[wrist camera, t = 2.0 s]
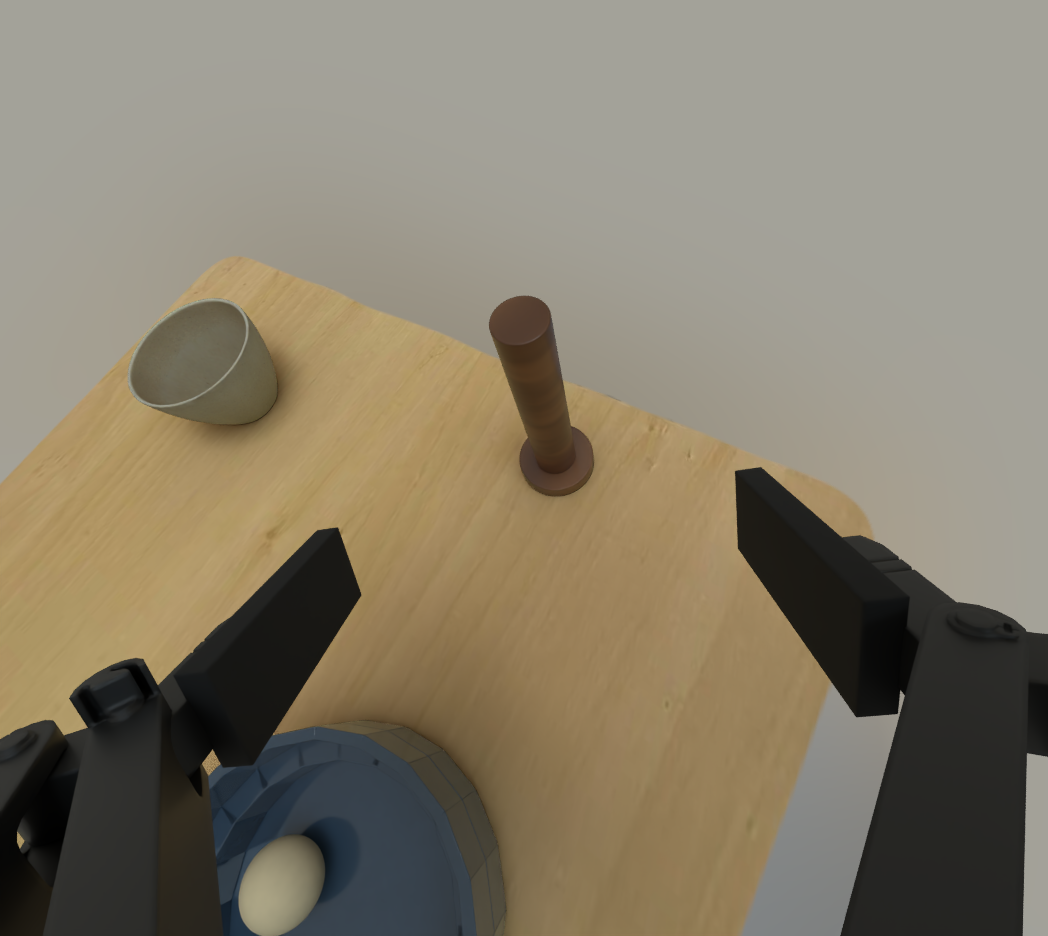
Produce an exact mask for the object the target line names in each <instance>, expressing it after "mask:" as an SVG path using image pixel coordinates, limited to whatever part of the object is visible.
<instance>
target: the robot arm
mask: <svg viewBox="0 0 1048 936" xmlns="http://www.w3.org/2000/svg"><path fill="white" fill-rule="evenodd" d="M735 481H736V508H737V535H738V549H739V551H740V552H741V554H742V555H743V556H744V558H745V559H746V561H747V562H748V564H749V565H750V566H751V568H752V569H753V571H754V572H755V574H756V575H757V576H758V578H759V579H760V581H761V582H762V584H763V585H764V586H765V588H766V589H767V591H768V592H769V594H770V595H771V596H772V598H773V599H774V601H775V602H776V603H777V605H778V606H779V608H780V609H781V611H782V612H783V613H784V615H785V616H786V618H787V619H788V621H789V622H790V623H791V625H792V626H793V628H794V629H795V631H796V632H797V633H798V635H799V636H800V638H801V639H802V641H803V642H804V643H805V645H806V646H807V648H808V649H809V651H810V652H811V653H812V655H813V656H814V658H815V659H816V661H817V662H818V663H819V665H820V666H821V668H822V669H823V671H824V672H825V673H826V675H827V676H828V678H829V679H830V681H831V682H832V683H833V685H834V686H835V688H836V689H837V690H838V692H839V693H840V695H841V696H842V698H843V699H844V701H845V702H846V703H847V704H848V706H849V708H850V709H851V710H852V712H853V713H854V715H855V716H856V717H866V716H879V715H891V714H898V707H899V697H900V690H901V691H902V692H903V694H904V695H905V697H904V701H903V705H902V709H901V712H900V716H899V720H898V724H897V727H896V731H895V735H894V738H893V742H892V746H891V749H890V753H889V757H888V761H887V764H886V768H885V772H884V776H883V779H882V783H881V787H880V790H879V794H878V798H877V801H876V805H875V809H874V813H873V816H872V820H871V824H870V828H869V831H868V835H867V839H866V843H865V846H864V850H863V854H862V858H861V861H860V865H859V868H858V872H857V876H856V880H855V883H854V887H853V891H852V894H851V898H850V902H849V906H848V909H847V913H846V917H845V921H844V924H843V928H842V932H841V935H840V936H1023V896H1024V894H1023V893H1024V852H1025V809H1026V807H1025V806H1026V804H1025V803H1026V766H1027V753H1029V754H1035V755H1041V756H1047V757H1048V634H1040V633H1032V632H1026V629H1025V628H1023V627H1022V626H1021V625H1020V624H1018V622H1016V621H1015V620H1014V619H1012V618H1010V617H1008V616H1006V615H1004V614H1002V613H1000V612H998V611H996V610H993V609H989V608H986V607H983V606H980V605H974V604H967V603H960V602H958V603H957V602H955V601H954V600H953V599H952V598H950V597H949V596H948V595H946V594H945V593H944V592H943V591H941V590H940V589H939V588H937V587H936V586H935V585H934V584H932V583H931V582H930V581H928V580H927V579H926V578H925V577H923V576H922V575H921V574H920V573H918V572H917V571H916V570H912V568H911V566H909V565H908V564H907V563H905V562H904V561H903V560H899V558H898V556H897V555H895V554H894V553H893V552H891V551H890V550H889V549H888V548H886V547H885V546H884V545H882V544H880V543H877V542H875V541H873V540H870V539H868V538H866V537H863V536H861V535H859V536H850V537H841V536H839V535H838V534H837V533H836V532H835V531H834V530H833V529H831V528H830V527H829V526H828V525H827V524H826V523H824V522H823V521H822V520H821V519H820V518H819V517H818V516H816V515H815V514H814V513H813V512H812V511H811V510H810V509H808V508H807V507H806V506H805V505H804V504H803V503H801V502H800V501H799V500H798V499H797V498H796V497H795V496H793V495H792V494H791V493H790V492H789V491H788V490H787V489H785V488H784V487H783V486H782V485H781V484H780V483H778V482H777V481H776V480H775V479H774V478H773V477H772V476H770V475H769V474H768V473H767V472H766V471H765V470H764V469H762V468H761V467H759V468H752V469H745V470H738V471H735ZM360 597H361V592H360V589H359V586H358V583H357V580H356V578H355V575H354V572H353V569H352V566H351V563H350V560H349V558H348V555H347V552H346V549H345V546H344V543H343V540H342V538H341V535H340V532H339V529H338V527H337V528H330V529H323V530H317V531H316V532H315V533H314V534H313V535H312V536H311V537H310V538H309V539H308V540H307V541H306V542H305V543H304V544H303V545H302V546H301V547H300V548H299V549H298V550H297V551H296V552H295V553H294V554H293V555H292V556H291V557H290V558H289V559H288V560H287V561H286V562H285V563H284V564H283V565H282V566H281V567H280V568H279V569H278V570H277V571H276V572H275V573H274V574H273V575H272V576H271V577H270V578H269V579H268V580H267V581H266V582H265V583H264V584H263V585H262V586H261V587H260V588H259V589H258V590H257V591H256V592H255V593H254V594H253V595H252V596H251V597H250V599H249V600H248V601H247V602H246V603H245V604H244V605H243V606H242V607H241V608H240V609H239V610H238V611H237V612H236V613H235V614H234V615H233V616H231V617H230V618H229V619H227V620H226V621H224V622H223V623H221V624H220V625H218V626H217V627H216V628H215V629H214V630H213V631H212V632H211V633H210V634H209V635H208V636H207V637H206V638H205V641H204V642H201V643H200V644H199V645H198V646H197V647H196V648H195V649H194V650H193V651H194V652H193V653H190V654H189V655H188V656H187V657H186V658H185V659H184V660H183V661H182V662H181V663H180V664H179V665H178V666H177V667H176V668H175V669H174V670H173V671H172V672H171V673H170V674H169V675H168V676H167V677H166V678H165V679H164V680H163V681H162V682H161V683H160V684H159V685H157V683H156V681H155V680H154V678H153V676H152V674H151V672H150V671H149V669H148V667H147V665H146V663H145V662H144V660H143V659H138V658H134V659H128V660H124V661H121V662H119V663H116V664H113V665H111V666H109V667H107V668H105V669H103V670H101V671H99V672H97V673H96V674H94V675H93V676H91V677H90V678H88V679H87V680H85V681H84V682H83V683H82V684H81V685H80V686H79V687H77V688H76V689H75V690H74V692H73V693H72V695H71V696H70V698H69V699H70V701H71V702H72V704H73V705H74V707H75V708H76V710H77V711H78V713H79V714H80V716H81V718H82V719H83V721H84V722H85V724H86V725H87V727H88V728H86V729H83V730H79V731H76V732H73V733H70V734H67V735H63V734H62V732H61V731H60V729H59V728H58V726H57V725H56V723H55V722H54V721H53V720H44V721H40V722H37V723H33V724H31V725H28V726H26V727H24V728H20V729H17V730H15V731H14V732H12V733H10V735H6V736H5V737H3V738H2V739H0V936H223V925H222V915H221V905H220V894H219V884H218V874H217V863H216V853H215V842H214V832H213V822H212V811H211V801H210V791H209V780H208V774H207V773H206V771H205V769H204V767H203V765H202V763H203V761H204V760H205V759H206V757H207V756H208V755H209V753H210V752H211V751H212V749H213V750H214V752H215V754H216V756H217V758H218V760H219V761H220V763H221V765H222V767H223V768H227V767H240V766H252V765H254V763H255V761H256V760H257V758H258V757H259V755H260V754H261V752H262V750H263V749H264V747H265V746H266V744H267V743H268V741H269V739H270V738H271V736H272V735H273V733H274V732H275V730H276V728H277V727H278V725H279V724H280V722H281V721H282V719H283V717H284V716H285V714H286V713H287V711H288V710H289V708H290V706H291V705H292V703H293V702H294V700H295V699H296V697H297V695H298V694H299V692H300V691H301V689H302V688H303V686H304V684H305V683H306V681H307V680H308V678H309V677H310V675H311V673H312V672H313V670H314V669H315V667H316V666H317V664H318V663H319V661H320V659H321V658H322V656H323V655H324V653H325V652H326V650H327V648H328V647H329V645H330V644H331V642H332V641H333V639H334V637H335V636H336V634H337V633H338V631H339V630H340V628H341V626H342V625H343V623H344V622H345V620H346V619H347V617H348V615H349V614H350V612H351V611H352V609H353V608H354V606H355V604H356V603H357V601H358V600H359V598H360ZM17 832H18V833H19V834H20V835H21V837H22V838H23V839H24V840H25V841H24V843H23V845H22V847H21V848H19V846H18V844H17Z"/></svg>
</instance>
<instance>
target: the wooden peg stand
mask: <svg viewBox="0 0 1048 936" xmlns="http://www.w3.org/2000/svg"><path fill="white" fill-rule="evenodd" d="M489 329H490V333H491V335H492V338H493V341H494V344H495V346H496V349H497V352H498V355H499V358H500V360H501V363H502V366H503V369H504V372H505V374H506V377H507V380H508V383H509V386H510V388H511V391H512V394H513V397H514V400H515V402H516V405H517V408H518V411H519V414H520V416H521V419H522V422H523V425H524V428H525V430H526V433H527V436H528V438H527V439H526V441H525V442H524V444H523V446H522V449H521V452H520V466H521V470H522V472H523V474H524V476H525V479H526V480H527V482H528V483H529V484H530V486H531V487H533V488H534V489H535V490H537V491H538V492H540V493H542V494H545V495H550V496H563V495H567V494H570V493H573V492H575V491H576V490H578V489H580V488H581V487H582V486H583V485H584V484H585V483H586V482H587V480H588V479H589V477H590V475H591V473H592V470H593V466H594V458H593V450H592V446H591V443H590V441H589V440H588V438H587V437H586V436H585V435H584V434H583V433H582V432H581V431H580V430H578V429H576V428H575V427H572V426H571V424H570V419H569V413H568V408H567V402H566V396H565V391H564V385H563V380H562V374H561V368H560V363H559V358H558V352H557V346H556V340H555V335H554V329H553V323H552V318H551V313H550V310H549V308H548V306H547V305H546V304H545V303H544V302H542V301H541V300H540V299H538V298H535V297H532V296H517V297H514V298H510V299H508V300H506V301H504V302H503V303H501V304H500V305H499V306H498V307H497V308H496V309H495V310H494V311H493V313H492V315H491V317H490V322H489Z"/></svg>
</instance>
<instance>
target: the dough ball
mask: <svg viewBox="0 0 1048 936" xmlns="http://www.w3.org/2000/svg"><path fill="white" fill-rule="evenodd" d="M324 879H325V863H324V858H323V855H322V852H321V850H320V848H319V847H318V845H317V844H316V843H315V842H314V841H313V840H311V839H310V838H308V837H306V836H303V835H297V834H292V835H286V836H283V837H280V838H277V839H275V840H274V841H272V842H270V843H269V844H267V845H266V846H265V847H264V848H263V849H262V850H260V851H259V853H258V854H257V855H256V856H255V857H254V859H253V860H252V861H251V863H250V864H249V866H248V868H247V870H246V872H245V874H244V876H243V879H242V882H241V886H240V890H239V910H240V914H241V917H242V920H243V922H244V923H245V925H246V926H247V927H248V928H249V929H250V930H251V931H252V932H254V933H256V934H258V935H261V936H278V935H281V934H284V933H287V932H289V931H290V930H292V929H294V928H295V927H296V926H298V925H299V924H300V923H301V922H302V921H303V920H304V919H305V918H306V917H307V916H308V915H309V913H310V912H311V911H312V909H313V908H314V906H315V904H316V903H317V901H318V899H319V896H320V894H321V891H322V888H323V884H324Z"/></svg>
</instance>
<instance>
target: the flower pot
mask: <svg viewBox="0 0 1048 936" xmlns="http://www.w3.org/2000/svg"><path fill="white" fill-rule="evenodd" d="M128 385H129V389H130V391H131V393H132V394H133V396H134V397H135V398H136V399H137V400H138V401H140V402H141V403H143V404H145V405H147V406H150V407H152V408H154V409H157V410H159V411H162V412H165V413H167V414H170V415H174V416H177V417H180V418H184V419H188V420H193V421H198V422H204V423H212V424H246V423H250V422H253V421H256V420H257V419H259V418H261V417H262V416H264V415H265V414H266V413H267V412H268V411H269V410H270V409H271V407H272V406H273V404H274V402H275V400H276V398H277V393H278V387H277V379H276V373H275V369H274V365H273V362H272V359H271V356H270V354H269V351H268V349H267V347H266V345H265V343H264V341H263V339H262V337H261V335H260V334H259V332H258V330H257V329H256V327H255V326H254V324H253V323H252V321H251V320H250V319H249V317H248V316H247V315H246V313H245V312H244V311H243V310H242V309H241V308H240V307H239V306H238V305H237V304H235V303H234V302H232V301H229V300H225V299H219V298H210V299H203V300H198V301H195V302H192V303H189V304H186V305H184V306H182V307H180V308H178V309H176V310H174V311H173V312H171V313H169V314H168V315H166V316H165V317H164V318H162V319H161V320H160V321H159V322H158V323H157V324H155V325H154V326H153V327H152V328H151V329H150V330H149V331H148V332H147V334H146V335H145V336H144V337H143V339H142V340H141V341H140V343H139V344H138V346H137V348H136V349H135V352H134V353H133V356H132V358H131V361H130V364H129V369H128Z"/></svg>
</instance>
